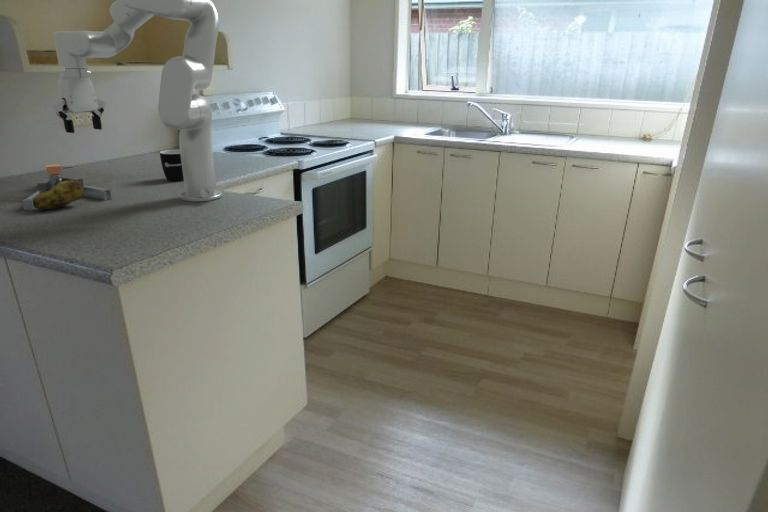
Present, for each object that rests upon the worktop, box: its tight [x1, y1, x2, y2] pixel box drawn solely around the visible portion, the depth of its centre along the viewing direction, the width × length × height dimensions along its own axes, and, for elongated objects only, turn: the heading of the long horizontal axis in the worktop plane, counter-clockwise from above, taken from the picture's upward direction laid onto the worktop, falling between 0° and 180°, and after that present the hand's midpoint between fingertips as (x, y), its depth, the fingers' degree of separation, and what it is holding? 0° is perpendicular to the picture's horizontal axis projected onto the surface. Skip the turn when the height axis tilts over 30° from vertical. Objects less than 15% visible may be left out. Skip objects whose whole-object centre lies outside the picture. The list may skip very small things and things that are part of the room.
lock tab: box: [45, 164, 62, 175], centre depth 174 cm, size 3×4×2 cm
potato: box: [33, 180, 84, 211], centre depth 152 cm, size 8×13×8 cm, turn 110°
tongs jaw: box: [57, 175, 113, 201], centre depth 167 cm, size 23×2×5 cm, turn 63°
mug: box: [159, 149, 184, 183], centre depth 188 cm, size 12×9×10 cm
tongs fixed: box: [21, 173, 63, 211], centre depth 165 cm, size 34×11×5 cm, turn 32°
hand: (84, 130), depth 168 cm, fingers open, 9 cm apart
